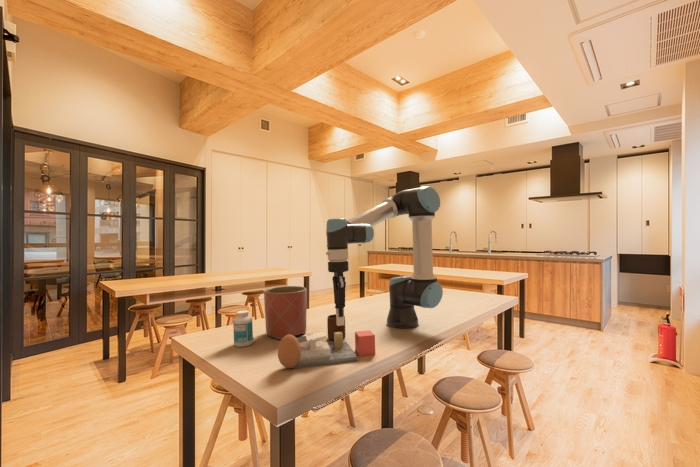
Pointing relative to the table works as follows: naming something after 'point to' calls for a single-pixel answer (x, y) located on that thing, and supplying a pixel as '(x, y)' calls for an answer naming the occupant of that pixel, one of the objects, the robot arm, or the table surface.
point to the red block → (364, 343)
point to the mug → (334, 327)
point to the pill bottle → (243, 329)
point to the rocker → (306, 339)
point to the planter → (285, 311)
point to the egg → (289, 351)
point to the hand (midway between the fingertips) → (340, 324)
